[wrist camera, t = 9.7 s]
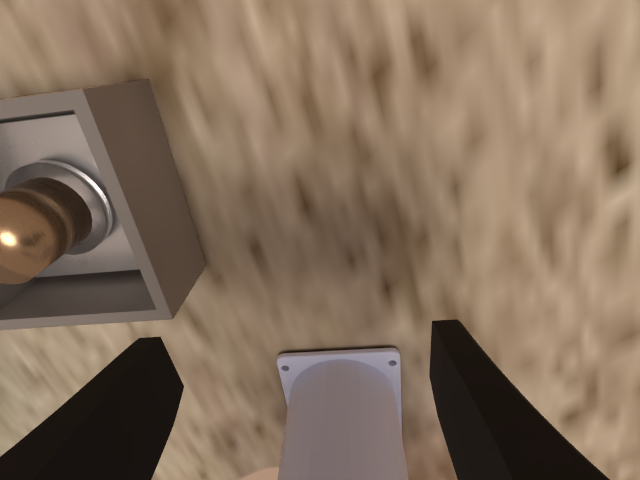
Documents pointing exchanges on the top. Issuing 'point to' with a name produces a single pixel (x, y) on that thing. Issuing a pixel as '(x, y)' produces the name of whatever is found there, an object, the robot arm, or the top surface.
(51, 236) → the plunger
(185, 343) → the top surface
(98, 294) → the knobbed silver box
